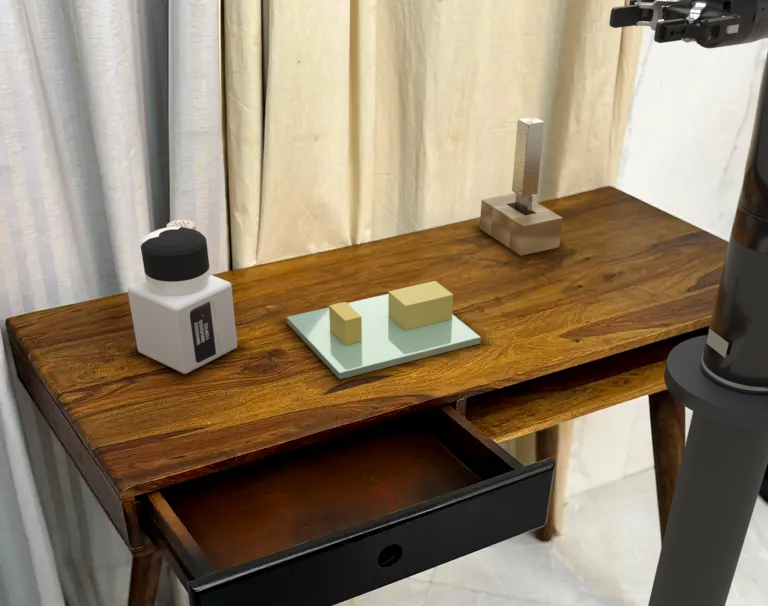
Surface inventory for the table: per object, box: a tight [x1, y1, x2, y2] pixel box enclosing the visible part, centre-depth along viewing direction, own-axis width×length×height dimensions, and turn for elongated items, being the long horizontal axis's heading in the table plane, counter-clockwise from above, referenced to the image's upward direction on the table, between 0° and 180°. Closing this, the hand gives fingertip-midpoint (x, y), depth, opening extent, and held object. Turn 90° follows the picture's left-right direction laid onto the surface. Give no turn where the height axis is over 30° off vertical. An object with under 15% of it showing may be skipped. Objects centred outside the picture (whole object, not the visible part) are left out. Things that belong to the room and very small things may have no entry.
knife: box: [511, 116, 545, 216], centre depth 126 cm, size 3×2×15 cm
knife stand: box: [479, 192, 564, 257], centre depth 129 cm, size 10×6×4 cm, turn 27°
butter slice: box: [328, 301, 362, 345], centre depth 106 cm, size 4×2×3 cm, turn 27°
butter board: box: [286, 293, 482, 380], centre depth 109 cm, size 14×17×1 cm
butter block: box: [388, 280, 454, 330], centre depth 109 cm, size 4×6×3 cm, turn 117°
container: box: [127, 226, 238, 375], centre depth 102 cm, size 8×8×13 cm
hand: (633, 25), depth 117 cm, fingers open, 8 cm apart
